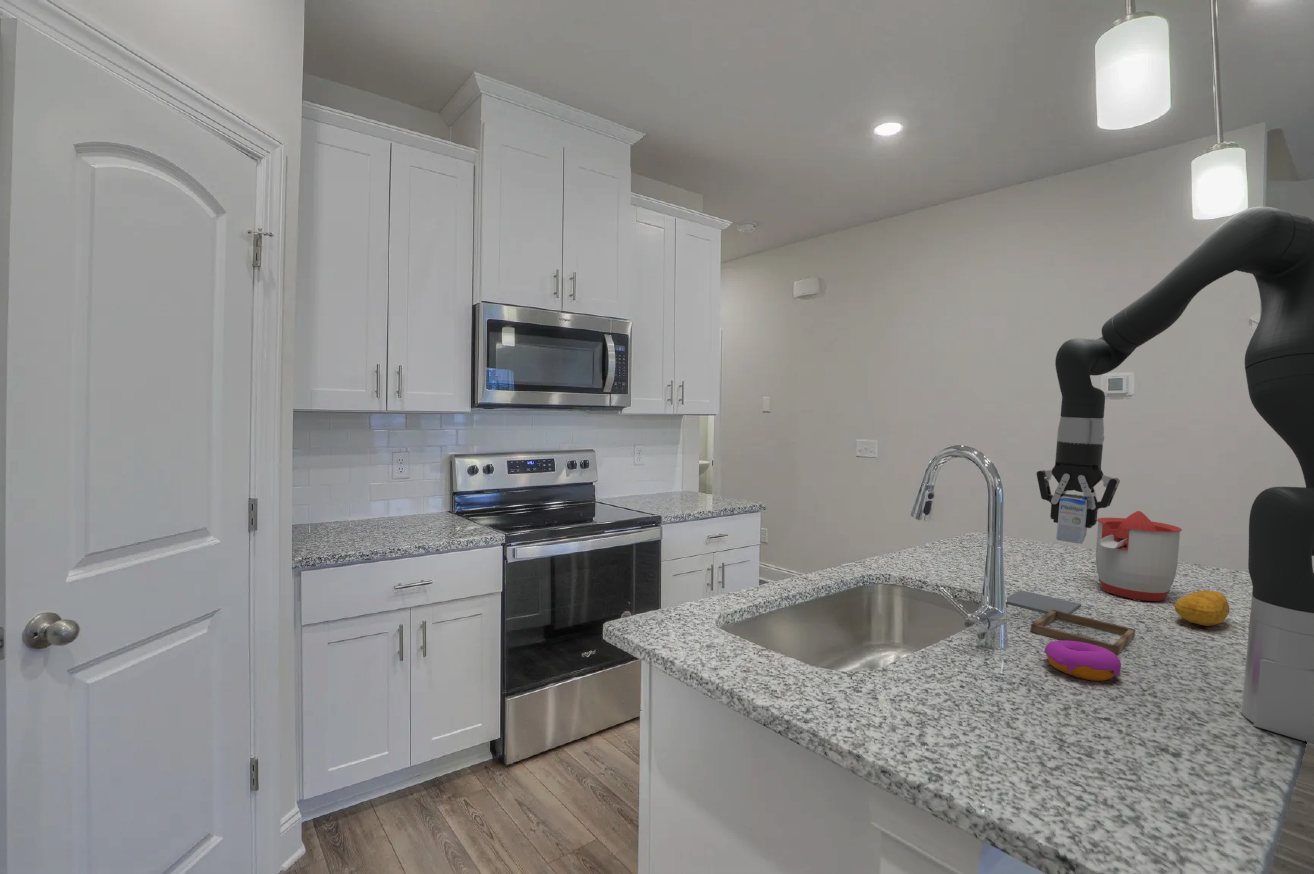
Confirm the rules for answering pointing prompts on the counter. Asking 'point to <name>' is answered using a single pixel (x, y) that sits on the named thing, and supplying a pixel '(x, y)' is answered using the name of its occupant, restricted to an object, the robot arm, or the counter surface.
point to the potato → (1203, 607)
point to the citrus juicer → (1137, 556)
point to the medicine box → (1072, 518)
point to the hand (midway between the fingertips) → (1072, 524)
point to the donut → (1083, 660)
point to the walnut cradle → (1061, 635)
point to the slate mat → (1041, 602)
